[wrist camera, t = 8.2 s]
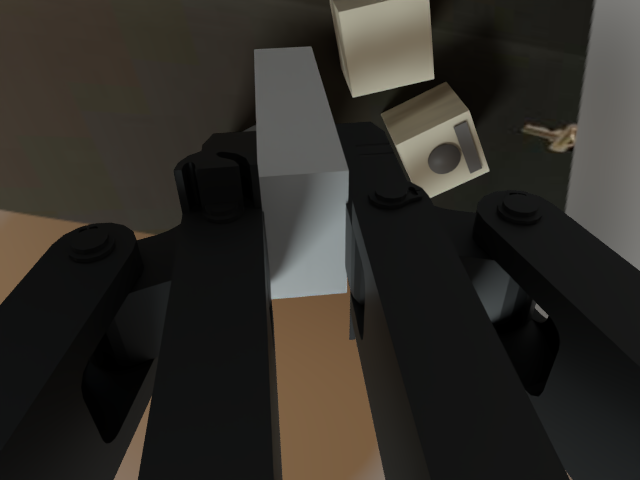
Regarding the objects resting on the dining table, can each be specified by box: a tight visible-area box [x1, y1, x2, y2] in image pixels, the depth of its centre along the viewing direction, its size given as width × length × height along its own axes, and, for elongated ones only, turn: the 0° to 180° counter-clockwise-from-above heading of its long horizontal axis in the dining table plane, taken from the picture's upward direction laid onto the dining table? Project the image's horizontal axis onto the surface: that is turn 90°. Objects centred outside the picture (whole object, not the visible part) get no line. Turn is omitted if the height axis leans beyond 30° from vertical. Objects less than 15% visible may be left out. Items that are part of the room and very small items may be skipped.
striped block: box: [381, 82, 489, 198], centre depth 45 cm, size 6×6×6 cm
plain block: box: [330, 0, 434, 98], centre depth 39 cm, size 6×6×6 cm
